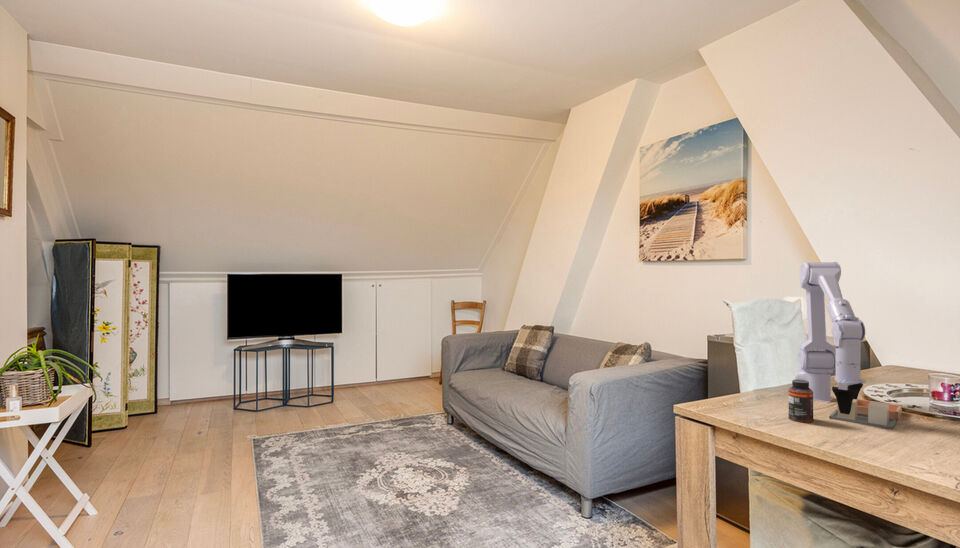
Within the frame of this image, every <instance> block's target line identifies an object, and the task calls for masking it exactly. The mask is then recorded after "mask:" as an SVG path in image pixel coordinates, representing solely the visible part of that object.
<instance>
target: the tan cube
mask: <svg viewBox="0 0 960 548" xmlns="http://www.w3.org/2000/svg"><path fill="white" fill-rule="evenodd" d="M857 399H858V398H857ZM857 399H853V401H852V406H851V411H850V414H842V413H840V411H839V407H838V406H837V410H838V411H837V417H840V418H846V419H851V420H855V419H856V418H857V403H858V400H857Z"/></svg>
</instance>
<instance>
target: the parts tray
mask: <svg viewBox="0 0 960 548" xmlns="http://www.w3.org/2000/svg"><path fill="white" fill-rule="evenodd" d="M837 411H838V408H837V409H835V410H834V411H833V412H832V413H830V415H829V416H828V419H829V420H830V419H831V420H835V421H842V422H846V423H853V424H860V425H864V426H870V427H877V428H881V429H886V430H893V429H894V428H895V426H896V424H897V422H898V420H897V419H892V418H889V423H888V424H887V426H886V425H880V424H875V423H869V422H868V415H867V414H861V413H857V418H856V419H855V420H851V419H846V418H840V417H837Z"/></svg>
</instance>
